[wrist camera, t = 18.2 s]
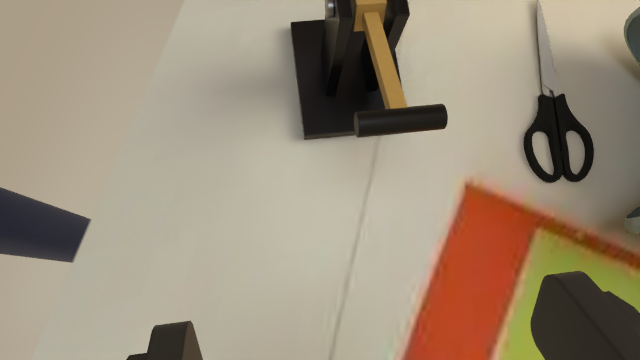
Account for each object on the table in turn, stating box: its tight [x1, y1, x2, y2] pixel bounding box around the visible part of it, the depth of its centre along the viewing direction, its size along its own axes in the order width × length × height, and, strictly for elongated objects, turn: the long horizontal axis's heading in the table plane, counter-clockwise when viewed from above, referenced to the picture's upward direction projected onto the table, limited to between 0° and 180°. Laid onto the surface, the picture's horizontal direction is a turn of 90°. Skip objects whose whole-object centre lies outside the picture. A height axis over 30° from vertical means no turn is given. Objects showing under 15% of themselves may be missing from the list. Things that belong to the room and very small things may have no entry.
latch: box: [351, 0, 447, 138], centre depth 31 cm, size 13×6×2 cm, turn 7°
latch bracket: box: [291, 0, 410, 140], centre depth 39 cm, size 12×10×14 cm
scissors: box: [524, 0, 594, 182], centre depth 46 cm, size 7×1×20 cm
